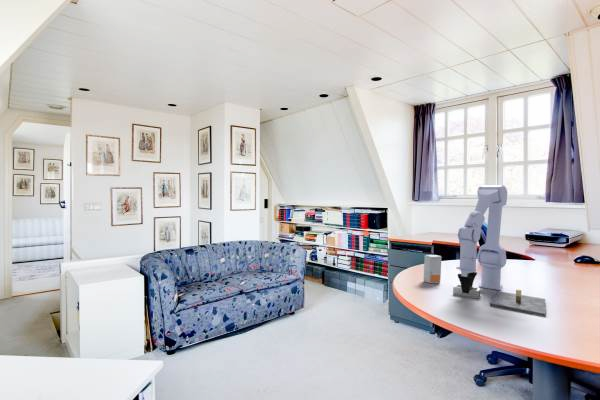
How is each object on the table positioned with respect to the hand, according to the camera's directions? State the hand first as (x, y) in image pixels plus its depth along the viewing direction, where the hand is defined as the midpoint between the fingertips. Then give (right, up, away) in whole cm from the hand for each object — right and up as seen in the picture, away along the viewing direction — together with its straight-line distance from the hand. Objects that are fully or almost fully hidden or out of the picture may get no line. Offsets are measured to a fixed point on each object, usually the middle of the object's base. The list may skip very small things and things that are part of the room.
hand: (466, 291), depth 131 cm
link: (0, -1, 0) cm, 1 cm away
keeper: (+14, -2, -9) cm, 17 cm away
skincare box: (-6, -1, +18) cm, 19 cm away
